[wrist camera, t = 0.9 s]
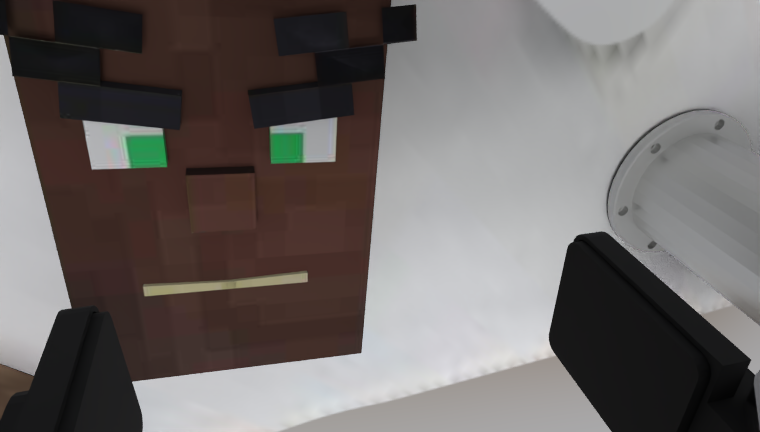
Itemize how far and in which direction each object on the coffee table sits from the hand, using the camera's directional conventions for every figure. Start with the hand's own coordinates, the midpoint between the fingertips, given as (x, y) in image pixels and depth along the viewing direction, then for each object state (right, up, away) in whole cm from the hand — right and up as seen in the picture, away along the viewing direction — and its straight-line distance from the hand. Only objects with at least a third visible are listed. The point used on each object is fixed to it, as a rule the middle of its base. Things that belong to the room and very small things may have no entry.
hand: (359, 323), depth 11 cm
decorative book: (-10, +7, +24) cm, 27 cm away
